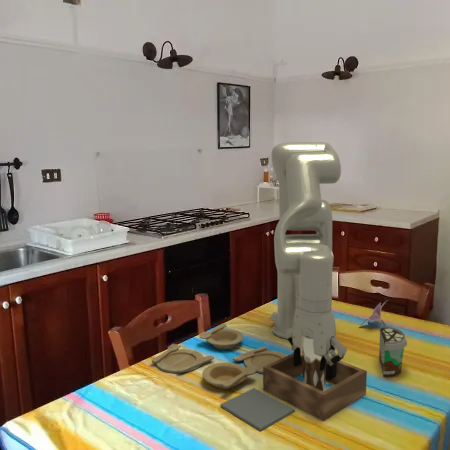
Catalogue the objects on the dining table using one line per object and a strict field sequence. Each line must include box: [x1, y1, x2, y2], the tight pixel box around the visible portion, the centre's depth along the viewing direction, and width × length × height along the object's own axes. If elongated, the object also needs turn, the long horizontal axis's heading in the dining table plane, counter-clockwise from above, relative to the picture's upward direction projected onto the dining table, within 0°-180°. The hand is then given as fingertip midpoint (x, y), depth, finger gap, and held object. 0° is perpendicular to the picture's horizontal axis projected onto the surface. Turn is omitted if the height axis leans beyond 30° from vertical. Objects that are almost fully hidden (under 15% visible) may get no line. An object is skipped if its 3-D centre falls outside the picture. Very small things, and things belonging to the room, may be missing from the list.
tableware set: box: [151, 323, 291, 390], centre depth 133 cm, size 35×29×4 cm
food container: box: [378, 324, 408, 378], centre depth 126 cm, size 12×6×10 cm, turn 168°
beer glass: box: [300, 335, 328, 391], centre depth 115 cm, size 7×7×15 cm
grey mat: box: [220, 387, 296, 432], centre depth 109 cm, size 13×11×1 cm
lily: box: [359, 299, 389, 327], centre depth 155 cm, size 12×12×10 cm
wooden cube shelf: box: [262, 352, 368, 422], centre depth 116 cm, size 18×16×6 cm
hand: (314, 371), depth 115 cm, fingers open, 9 cm apart
